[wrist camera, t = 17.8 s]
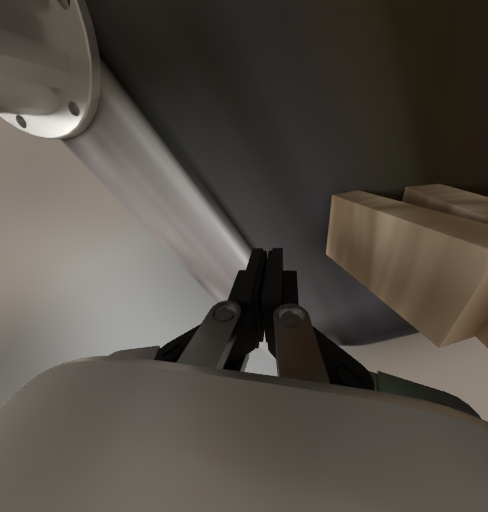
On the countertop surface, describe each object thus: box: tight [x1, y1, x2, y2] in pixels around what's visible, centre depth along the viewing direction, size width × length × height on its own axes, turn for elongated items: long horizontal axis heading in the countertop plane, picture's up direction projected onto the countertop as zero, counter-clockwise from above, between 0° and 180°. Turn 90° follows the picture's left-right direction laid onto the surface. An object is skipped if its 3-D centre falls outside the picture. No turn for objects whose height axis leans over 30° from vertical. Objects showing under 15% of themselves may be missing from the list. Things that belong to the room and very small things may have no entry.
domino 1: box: [326, 190, 488, 348], centre depth 11 cm, size 2×5×9 cm, turn 8°
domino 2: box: [402, 184, 488, 348], centre depth 11 cm, size 2×5×9 cm, turn 7°
